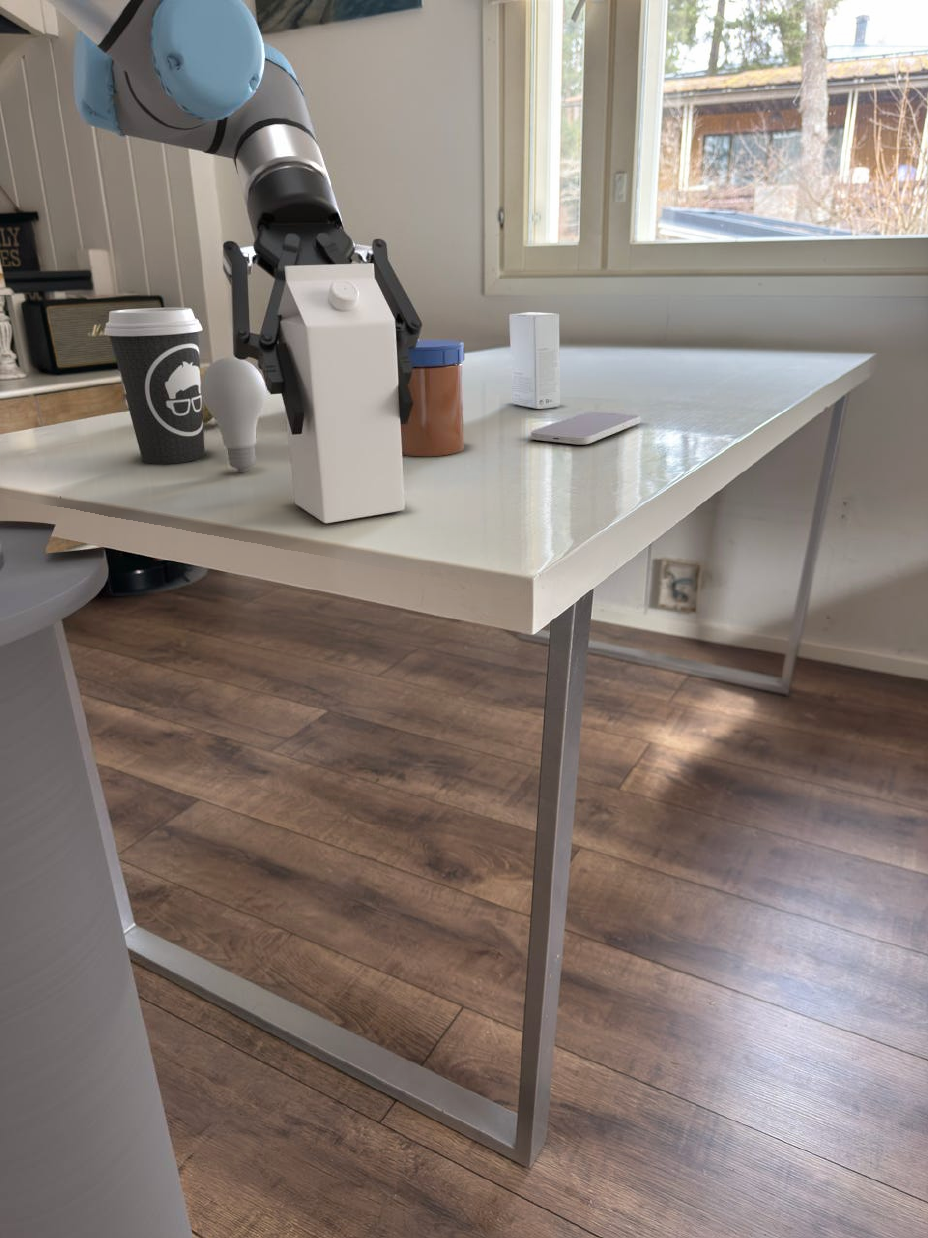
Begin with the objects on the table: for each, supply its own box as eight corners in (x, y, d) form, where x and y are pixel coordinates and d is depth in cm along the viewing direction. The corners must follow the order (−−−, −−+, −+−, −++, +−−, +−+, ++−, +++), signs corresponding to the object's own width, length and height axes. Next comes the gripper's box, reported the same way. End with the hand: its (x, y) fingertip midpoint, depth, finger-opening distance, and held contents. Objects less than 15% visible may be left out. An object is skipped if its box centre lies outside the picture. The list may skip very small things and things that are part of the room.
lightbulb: (260, 479, 83) (246, 360, 78) (201, 478, 84) (184, 361, 79) (283, 465, 88) (272, 353, 84) (228, 464, 89) (213, 353, 85)
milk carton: (294, 505, 74) (270, 265, 66) (371, 493, 77) (355, 263, 69) (324, 526, 68) (301, 265, 60) (405, 511, 71) (392, 263, 64)
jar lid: (424, 368, 85) (423, 348, 84) (371, 363, 90) (370, 344, 90) (479, 360, 90) (479, 341, 90) (426, 355, 96) (425, 338, 95)
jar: (428, 459, 89) (424, 353, 85) (379, 450, 94) (373, 349, 90) (478, 447, 94) (476, 346, 90) (429, 439, 99) (426, 342, 95)
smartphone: (526, 432, 97) (588, 410, 108) (526, 440, 97) (588, 417, 108) (585, 438, 93) (643, 415, 104) (585, 446, 93) (643, 422, 104)
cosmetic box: (561, 406, 117) (563, 312, 113) (534, 410, 115) (535, 314, 111) (534, 401, 122) (535, 310, 118) (508, 404, 120) (508, 312, 115)
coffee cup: (217, 445, 98) (198, 305, 93) (221, 462, 90) (201, 310, 84) (128, 452, 96) (103, 309, 90) (125, 470, 87) (97, 314, 82)
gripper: (396, 232, 81) (465, 434, 73) (166, 236, 74) (216, 460, 66) (412, 163, 74) (489, 377, 66) (161, 160, 67) (215, 399, 60)
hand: (353, 418), depth 66 cm, fingers closed on milk carton, 8 cm apart
